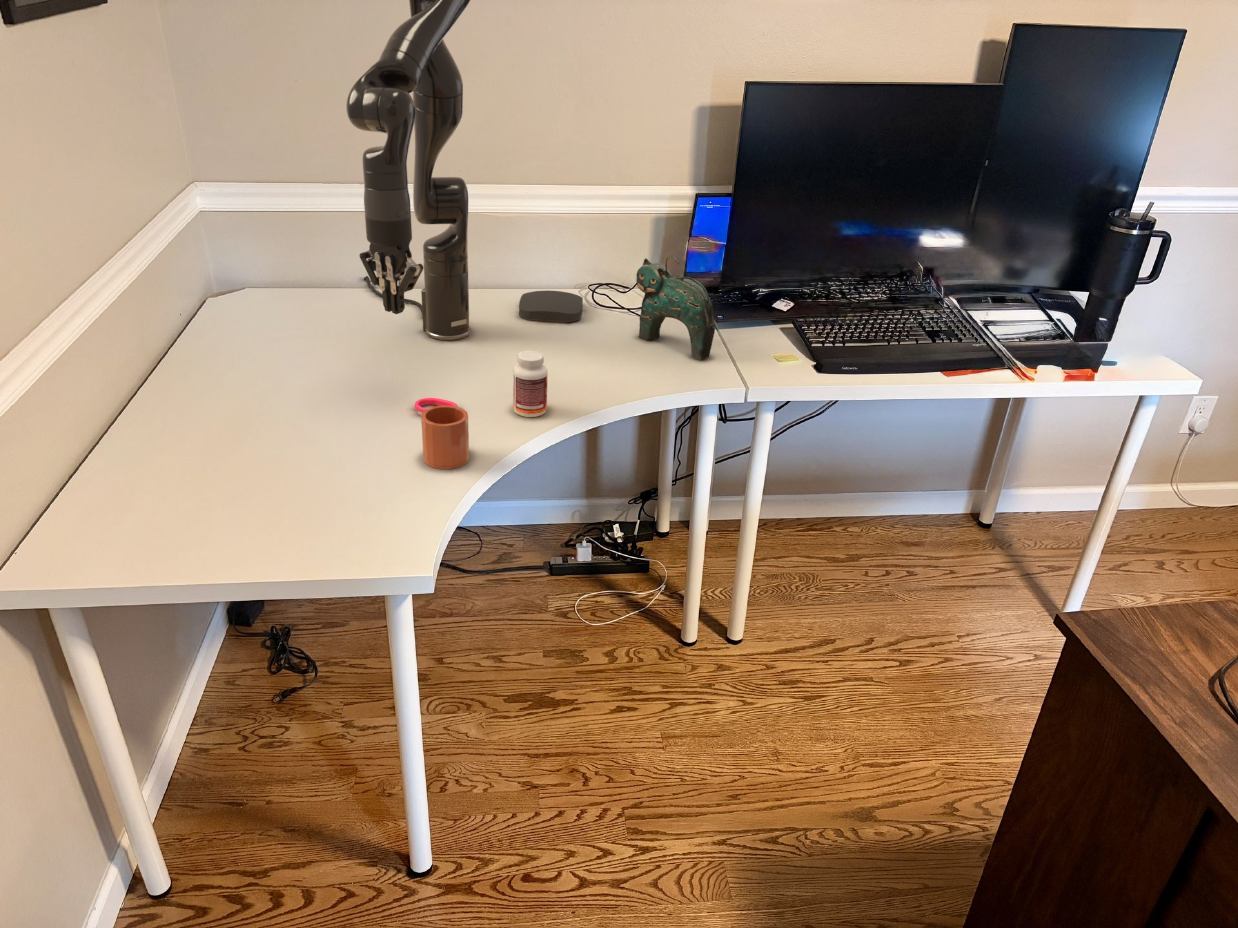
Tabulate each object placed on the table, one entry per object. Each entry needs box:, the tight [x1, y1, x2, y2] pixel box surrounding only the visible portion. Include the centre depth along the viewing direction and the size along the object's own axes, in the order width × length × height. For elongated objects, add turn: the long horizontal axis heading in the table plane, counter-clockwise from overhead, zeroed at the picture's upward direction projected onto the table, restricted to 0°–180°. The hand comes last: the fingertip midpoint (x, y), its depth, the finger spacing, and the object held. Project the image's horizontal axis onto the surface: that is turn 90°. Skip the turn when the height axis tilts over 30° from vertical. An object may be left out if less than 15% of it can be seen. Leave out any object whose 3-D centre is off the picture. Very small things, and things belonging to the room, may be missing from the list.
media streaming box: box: [518, 290, 584, 323], centre depth 213 cm, size 15×15×3 cm
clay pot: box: [420, 405, 470, 470], centre depth 148 cm, size 7×7×8 cm
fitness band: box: [414, 397, 459, 417], centre depth 165 cm, size 8×6×2 cm
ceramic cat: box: [636, 254, 716, 361], centre depth 195 cm, size 20×6×20 cm, turn 47°
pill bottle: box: [512, 350, 548, 418], centre depth 165 cm, size 6×6×11 cm
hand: (394, 311), depth 161 cm, fingers closed
